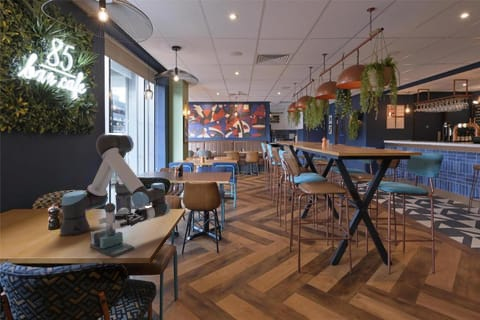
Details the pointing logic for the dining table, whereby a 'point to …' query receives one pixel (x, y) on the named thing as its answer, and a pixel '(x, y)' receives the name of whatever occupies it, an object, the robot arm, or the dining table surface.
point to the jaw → (110, 228)
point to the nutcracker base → (111, 250)
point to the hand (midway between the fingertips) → (105, 224)
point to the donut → (122, 210)
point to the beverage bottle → (122, 197)
